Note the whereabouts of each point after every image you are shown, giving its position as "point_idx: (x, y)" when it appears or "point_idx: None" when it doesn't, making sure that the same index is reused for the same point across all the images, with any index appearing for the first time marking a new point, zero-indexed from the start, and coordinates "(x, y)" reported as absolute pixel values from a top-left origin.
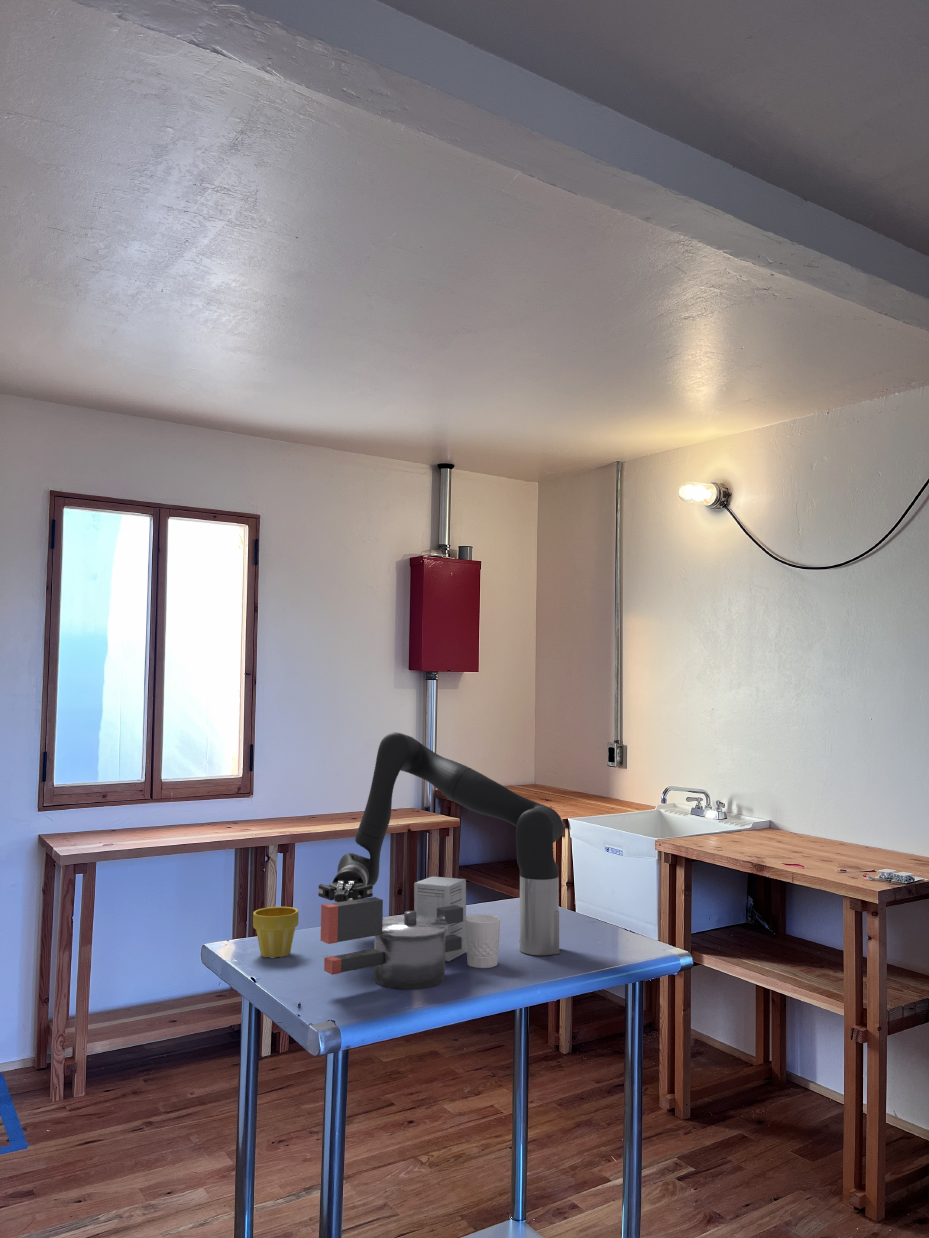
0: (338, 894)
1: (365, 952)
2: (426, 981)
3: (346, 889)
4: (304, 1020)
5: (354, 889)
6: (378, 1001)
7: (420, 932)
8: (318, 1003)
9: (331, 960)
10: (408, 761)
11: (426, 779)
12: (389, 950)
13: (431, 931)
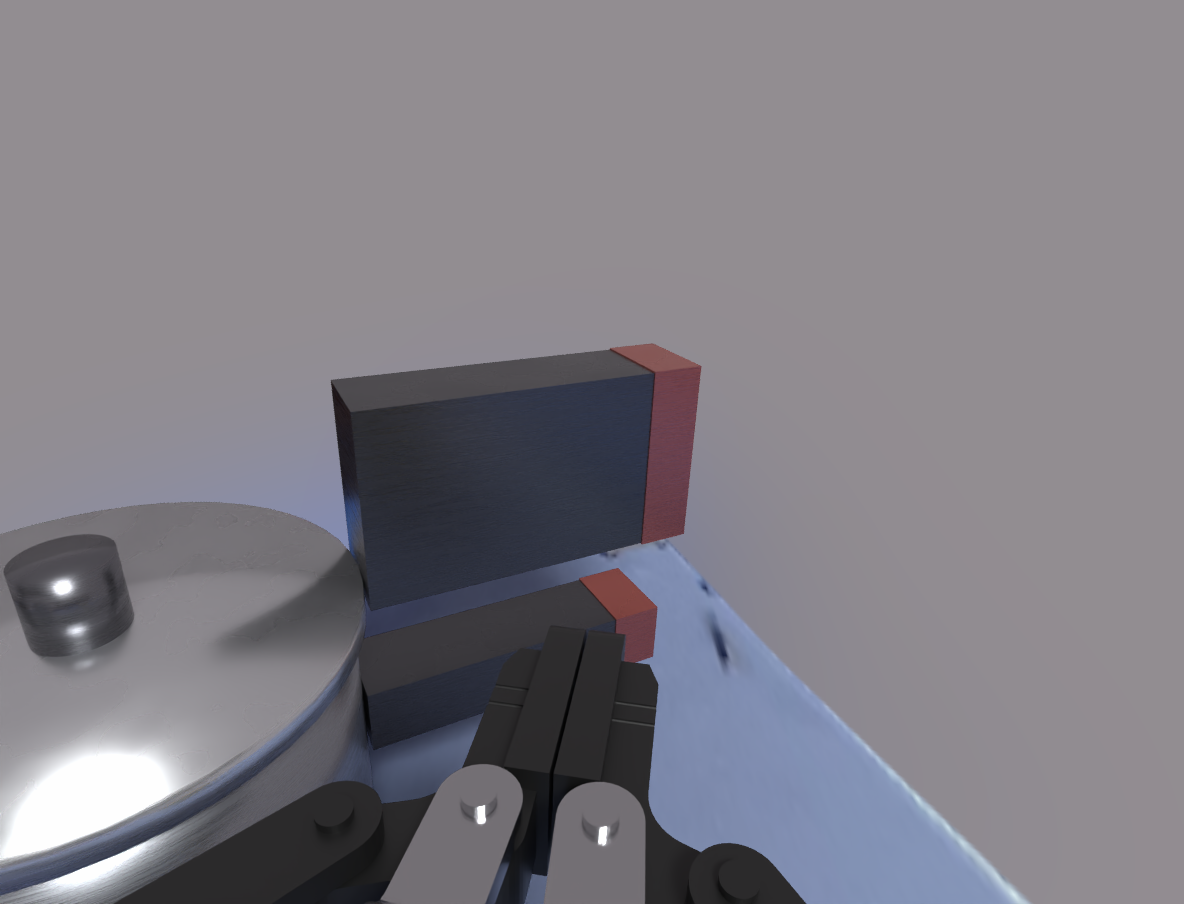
0: (610, 633)
1: (447, 645)
2: None
3: (491, 775)
4: (681, 561)
5: (363, 784)
6: None
7: (172, 505)
8: (656, 652)
9: (622, 575)
10: None
11: None
12: None
13: (102, 510)
